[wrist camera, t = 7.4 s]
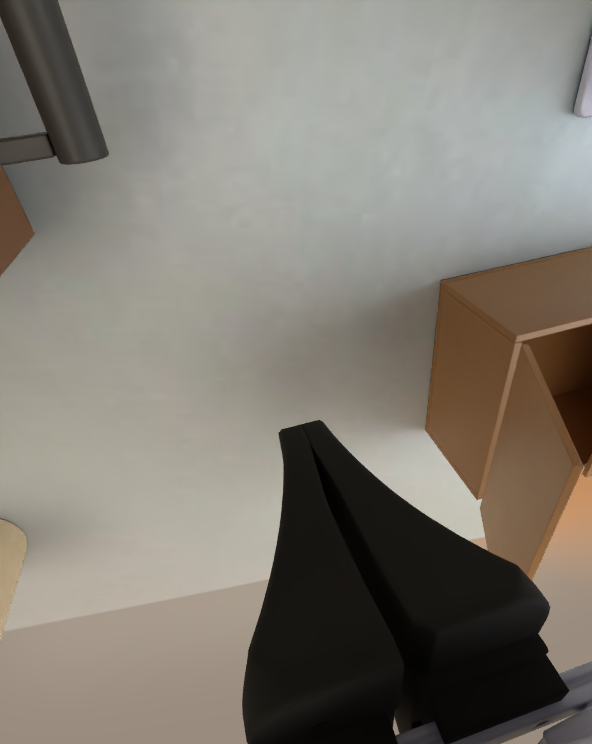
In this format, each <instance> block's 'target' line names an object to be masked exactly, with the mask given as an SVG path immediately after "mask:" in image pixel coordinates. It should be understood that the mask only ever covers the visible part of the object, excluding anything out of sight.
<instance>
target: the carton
mask: <svg viewBox="0 0 592 744" xmlns="http://www.w3.org/2000/svg"><path fill="white" fill-rule="evenodd" d="M521 345H529V346H530V349H531V351H532V353H533V355H534V357H535V360H536V362H537V364H538V366H539V369H540V371H541V373H542V375H543V377H544V380H545V382H546V384H547V386H548V389H549V391H550V393H551V395H552V397H553V400H554V402H555V404H556V406H557V409H558V411H559V413H560V415H561V417H562V420H563V422H564V424H565V426H566V429H567V431H568V433H569V435H570V437H571V440H572V442H573V444H574V446H575V449H576V451H577V453H578V455H579V458H580V460H581V462H582V464H583V467H585V469H584V471H583V473H582V474H583V475H584V476H585V477H589V476H592V247H589V248H585V249H580V250H576V251H571V252H567V253H562V254H558V255H553V256H549V257H544V258H540V259H535V260H531V261H526V262H522V263H517V264H513V265H508V266H504V267H499V268H495V269H490V270H486V271H481V272H477V273H472V274H468V275H463V276H459V277H454V278H450V279H445V280H441V287H440V296H439V305H438V315H437V324H436V334H435V343H434V352H433V362H432V371H431V381H430V390H429V400H428V409H427V418H426V428H425V430H426V432H427V433H428V434H429V436H430V437H431V439H432V440H433V441H434V443H435V444H436V445H437V447H438V448H439V449H440V451H441V452H442V453H443V455H444V456H445V457H446V459H447V460H448V462H449V463H450V464H451V466H452V467H453V468H454V470H455V471H456V472H457V474H458V475H459V476H460V478H461V479H462V480H463V482H464V483H465V485H466V486H467V487H468V489H469V490H470V491H471V493H472V494H473V495H474V497H475V498H476V499H477V500H478V499H482V498H483V494H484V491H485V487H486V483H487V479H488V475H489V471H490V467H491V463H492V459H493V455H494V451H495V447H496V443H497V439H498V435H499V432H500V428H501V424H502V420H503V416H504V412H505V408H506V404H507V400H508V396H509V392H510V388H511V384H512V380H513V376H514V373H515V369H516V365H517V361H518V357H519V353H520V349H521Z"/></svg>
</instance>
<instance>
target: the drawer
mask: <svg viewBox="0 0 592 744" xmlns="http://www.w3.org/2000/svg"><path fill="white" fill-rule="evenodd" d="M0 17H1V20H2V22H3V25H4V27H5V29H6V32H7V34H8V37H9V39H10V42H11V44H12V47H13V49H14V52H15V54H16V57H17V59H18V62H19V64H20V67H21V69H22V71H23V74H24V76H25V79H26V81H27V84H28V86H29V89H30V91H31V94H32V96H33V99H34V101H35V104H36V106H37V109H38V111H39V113H40V116H41V118H42V121H43V123H44V126H45V128H46V131H47V132H43V133H36V134H29V135H23V136H16V137H9V138H2V139H0V276H1V275H2V274H3V272H4V271H5V270H6V269H7V267H8V266H9V265H10V264H11V263H12V261H13V260H14V259H15V258H16V256H17V255H18V254H19V253H20V251H21V250H22V249H23V248H24V247H25V245H26V244H27V243H28V242H29V240H30V239H31V238H32V237H33V235H34V231H33V229H32V227H31V225H30V223H29V221H28V219H27V217H26V214H25V212H24V210H23V208H22V206H21V204H20V202H19V200H18V198H17V196H16V194H15V192H14V190H13V187H12V185H11V183H10V181H9V179H8V177H7V175H6V173H5V171H4V169H3V167H2V165H9V164H15V163H22V162H28V161H34V160H41V159H47V158H53V157H55V156H56V155H57V158H58V160H59V162H60V163H61V164H65V165H70V164H79V163H86V162H91V161H95V160H99V159H102V158H105V157H107V156H108V155H109V152H108V149H107V146H106V143H105V140H104V137H103V134H102V131H101V128H100V125H99V122H98V119H97V116H96V113H95V110H94V107H93V104H92V101H91V98H90V95H89V92H88V89H87V86H86V83H85V80H84V77H83V74H82V71H81V68H80V65H79V62H78V59H77V56H76V53H75V50H74V47H73V45H72V42H71V39H70V36H69V33H68V30H67V27H66V24H65V21H64V18H63V15H62V12H61V9H60V6H59V3H58V0H0Z"/></svg>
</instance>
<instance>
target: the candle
mask: <svg viewBox="0 0 592 744" xmlns="http://www.w3.org/2000/svg"><path fill="white" fill-rule="evenodd" d="M26 550H27V538H26V536H25V534H24V533H23V532H22V531H21V530H20V529H19V528H18V527H17V526H15V525H13V524H12V523H10V522H7V521H5V520H2V519H0V641H1V638H2V634H3V631H4V628H5V624H6V621H7V617H8V614H9V610H10V607H11V603H12V600H13V596H14V593H15V589H16V586H17V583H18V579H19V576H20V572H21V569H22V565H23V562H24V558H25V554H26Z"/></svg>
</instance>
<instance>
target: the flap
mask: <svg viewBox="0 0 592 744" xmlns="http://www.w3.org/2000/svg"><path fill="white" fill-rule="evenodd" d="M582 469H583V464H582V462H581V460H580V458H579V455H578V453H577V451H576V449H575V446H574V444H573V442H572V440H571V437H570V435H569V433H568V431H567V429H566V426H565V424H564V422H563V420H562V417H561V415H560V413H559V411H558V409H557V406H556V404H555V402H554V400H553V397H552V395H551V393H550V391H549V389H548V386H547V384H546V382H545V380H544V377H543V375H542V373H541V371H540V369H539V366H538V364H537V362H536V360H535V357H534V355H533V353H532V351H531V349H530V346H529V345H521V349H520V353H519V357H518V361H517V365H516V369H515V373H514V376H513V380H512V384H511V388H510V392H509V396H508V400H507V404H506V408H505V412H504V416H503V420H502V424H501V428H500V432H499V435H498V439H497V443H496V447H495V451H494V455H493V459H492V463H491V467H490V471H489V475H488V479H487V483H486V487H485V491H484V494H483V498H482V502H481V506H480V511H481V516H482V522H483V527H484V532H485V538H486V543H487V548H488V551H489V552H491V553H493V554H495V555H497V556H499V557H501V558H503V559H506V560H508V561H510V562H512V563H514V564H516V565H518V566H519V567H520V568H521V570H522V571H523V572H524V573H525V574H526V575H527V576H528V577H529V578H530V580H531V581H532V579H533V577H534V575H535V573H536V570H537V568H538V566H539V564H540V562H541V560H542V557H543V555H544V553H545V551H546V548H547V546H548V544H549V542H550V540H551V537H552V535H553V533H554V531H555V529H556V526H557V524H558V522H559V520H560V517H561V515H562V513H563V511H564V509H565V506H566V504H567V502H568V500H569V498H570V495H571V493H572V491H573V489H574V486H575V485H576V482H577V480H578V478H579V476H580V473H581V471H582Z"/></svg>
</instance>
